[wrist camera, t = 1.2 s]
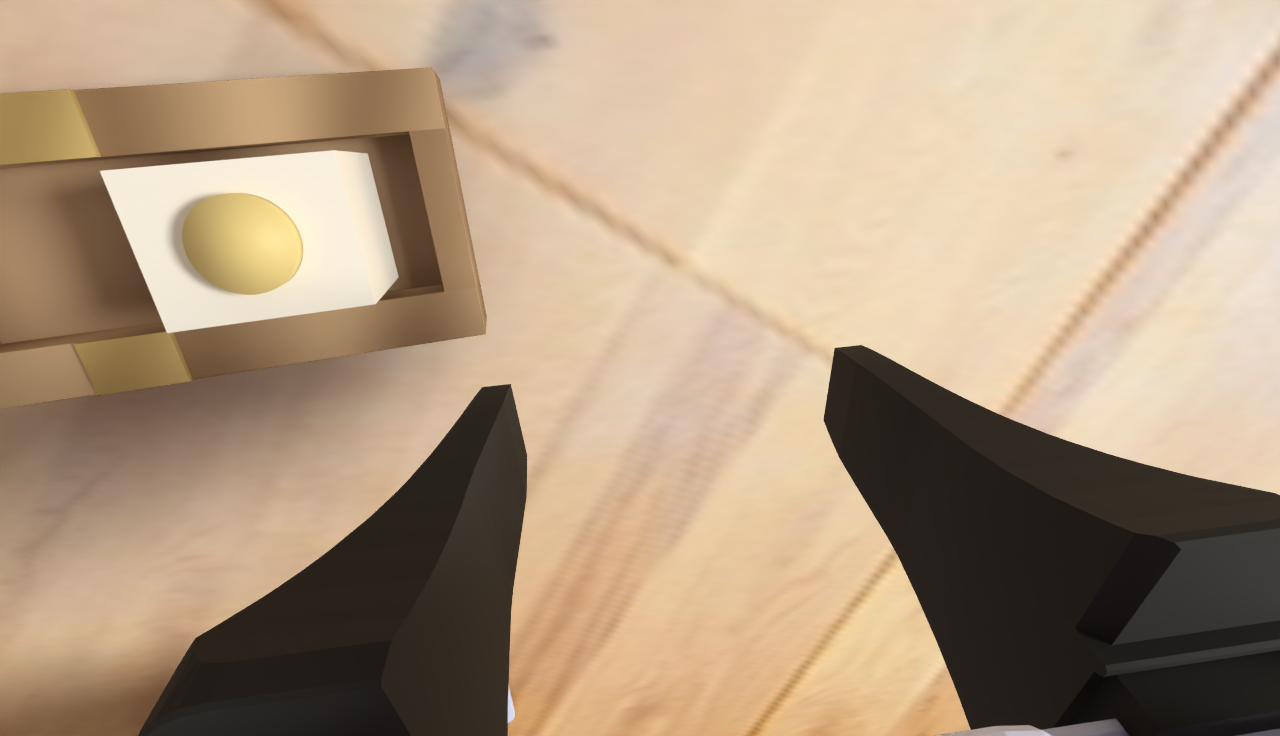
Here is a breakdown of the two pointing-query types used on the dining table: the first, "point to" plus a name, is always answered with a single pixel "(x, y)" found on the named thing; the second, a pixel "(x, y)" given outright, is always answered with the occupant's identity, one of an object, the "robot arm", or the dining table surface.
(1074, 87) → the dining table surface
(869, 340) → the dining table surface
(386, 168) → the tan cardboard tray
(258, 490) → the dining table surface
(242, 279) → the block
